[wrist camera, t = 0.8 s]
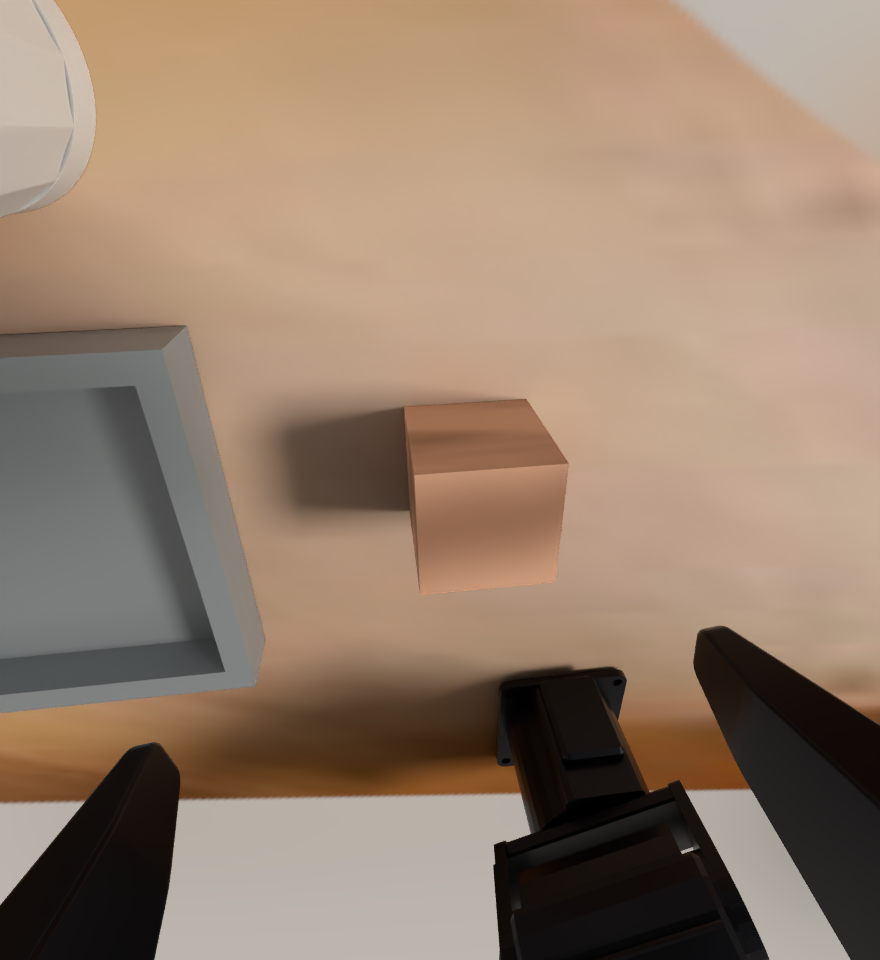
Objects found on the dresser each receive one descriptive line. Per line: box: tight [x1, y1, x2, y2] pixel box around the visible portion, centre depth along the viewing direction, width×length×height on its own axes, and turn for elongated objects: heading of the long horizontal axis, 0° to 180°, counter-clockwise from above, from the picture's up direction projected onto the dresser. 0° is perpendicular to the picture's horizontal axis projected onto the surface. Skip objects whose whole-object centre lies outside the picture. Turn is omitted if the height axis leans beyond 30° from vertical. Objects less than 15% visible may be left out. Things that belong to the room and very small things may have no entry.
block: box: [404, 399, 569, 595], centre depth 19 cm, size 4×4×5 cm
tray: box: [0, 326, 265, 713], centre depth 20 cm, size 14×13×2 cm
